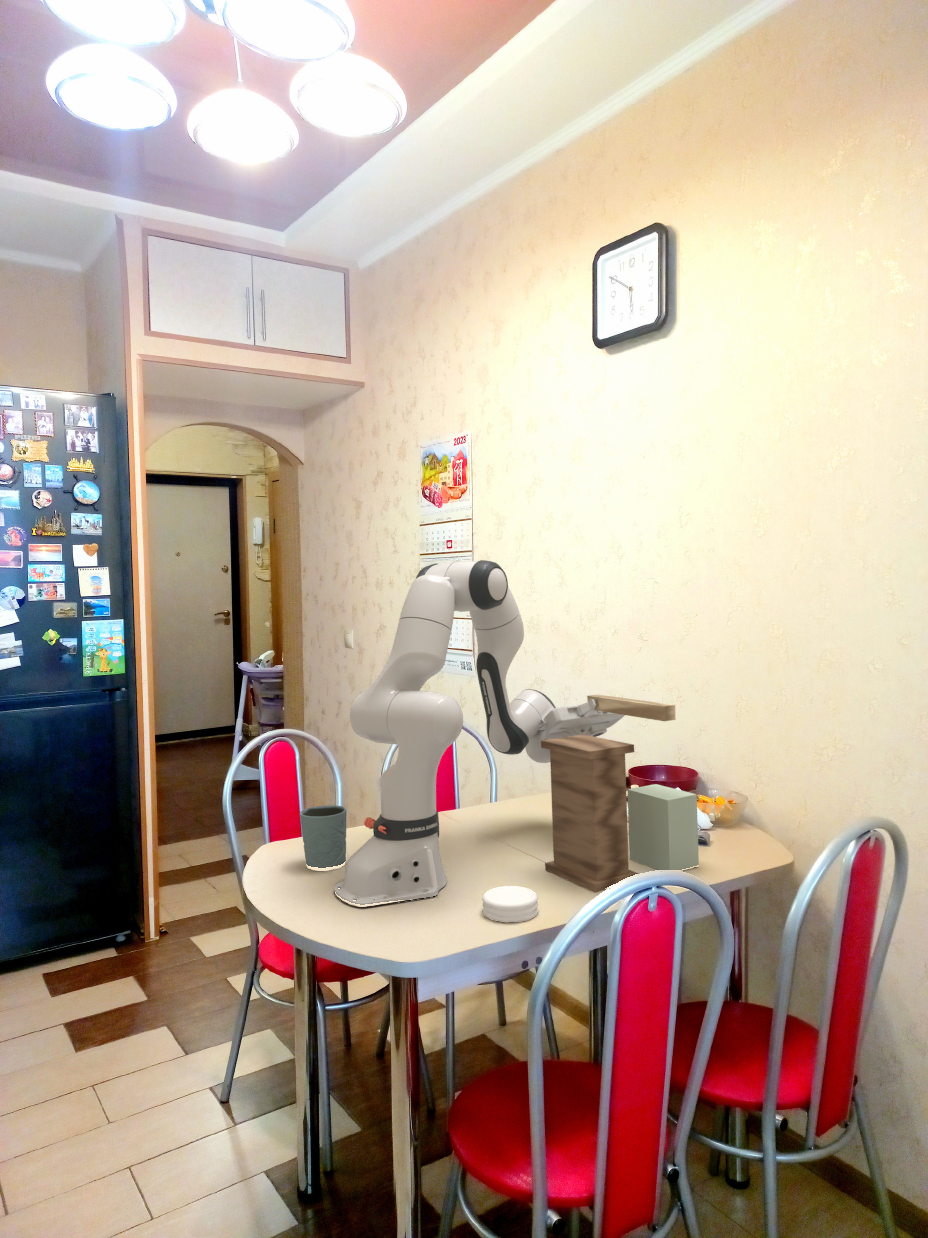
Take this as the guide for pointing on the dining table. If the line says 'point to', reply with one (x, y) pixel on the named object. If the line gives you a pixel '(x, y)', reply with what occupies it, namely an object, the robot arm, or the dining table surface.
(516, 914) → the coaster
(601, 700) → the maple rod
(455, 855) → the dining table surface
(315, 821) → the grey-green cup
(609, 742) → the walnut pedestal
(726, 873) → the dining table surface
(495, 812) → the dining table surface
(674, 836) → the sage-green block
